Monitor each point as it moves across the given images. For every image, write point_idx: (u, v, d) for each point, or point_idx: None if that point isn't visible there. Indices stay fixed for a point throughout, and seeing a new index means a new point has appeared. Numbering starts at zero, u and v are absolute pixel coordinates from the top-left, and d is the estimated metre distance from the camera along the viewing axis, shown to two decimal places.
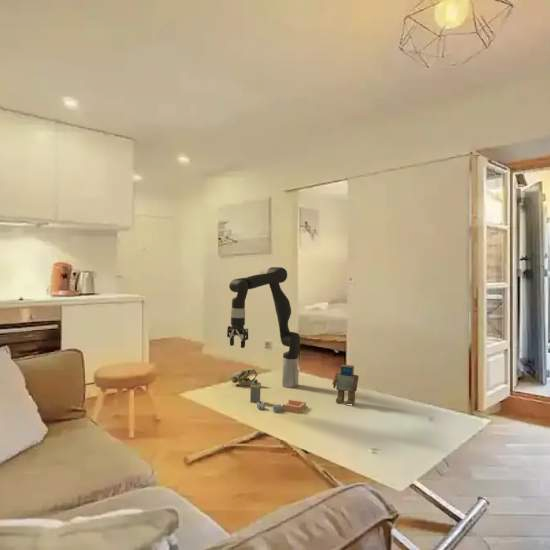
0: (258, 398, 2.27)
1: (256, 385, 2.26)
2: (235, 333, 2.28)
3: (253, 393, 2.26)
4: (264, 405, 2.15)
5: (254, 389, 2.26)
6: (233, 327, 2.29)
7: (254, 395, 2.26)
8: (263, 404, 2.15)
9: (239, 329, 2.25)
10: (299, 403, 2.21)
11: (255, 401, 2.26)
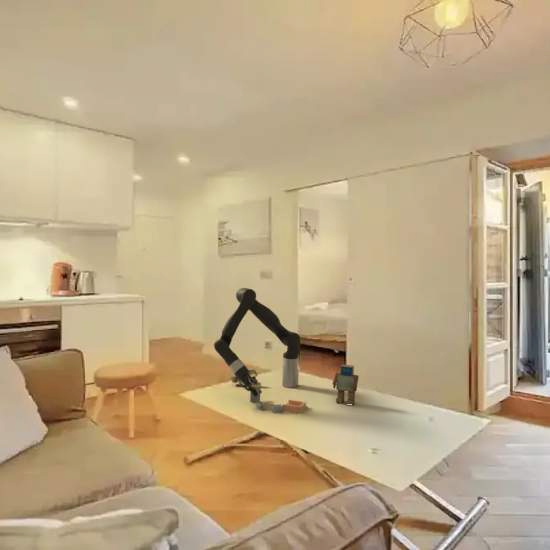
0: (258, 398, 2.27)
1: (256, 385, 2.26)
2: None
3: None
4: (264, 405, 2.15)
5: None
6: None
7: None
8: (263, 404, 2.15)
9: None
10: (299, 403, 2.21)
11: (255, 401, 2.26)
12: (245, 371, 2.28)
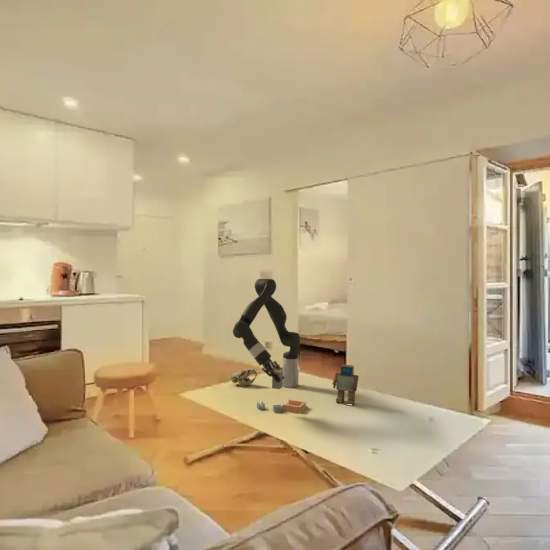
0: (280, 384, 2.12)
1: (278, 370, 2.11)
2: None
3: None
4: (264, 405, 2.15)
5: (277, 374, 2.11)
6: None
7: (276, 381, 2.11)
8: (263, 404, 2.15)
9: None
10: (299, 403, 2.21)
11: (277, 387, 2.11)
12: (266, 355, 2.13)
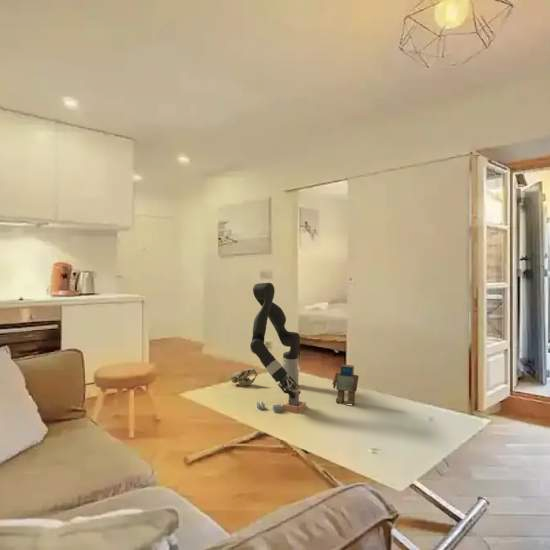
0: (297, 404, 2.17)
1: (295, 390, 2.15)
2: None
3: (292, 399, 2.16)
4: (264, 405, 2.15)
5: None
6: None
7: (293, 400, 2.16)
8: (263, 404, 2.15)
9: None
10: (299, 403, 2.21)
11: None
12: (283, 373, 2.18)
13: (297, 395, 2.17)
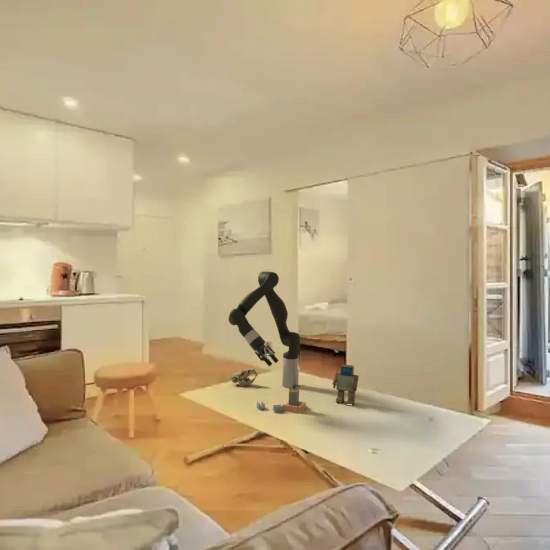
0: (297, 404, 2.17)
1: (295, 390, 2.15)
2: None
3: (292, 399, 2.16)
4: (264, 405, 2.15)
5: (293, 394, 2.16)
6: None
7: (293, 400, 2.16)
8: (263, 404, 2.15)
9: None
10: (299, 403, 2.21)
11: None
12: (261, 341, 2.23)
13: (297, 395, 2.17)
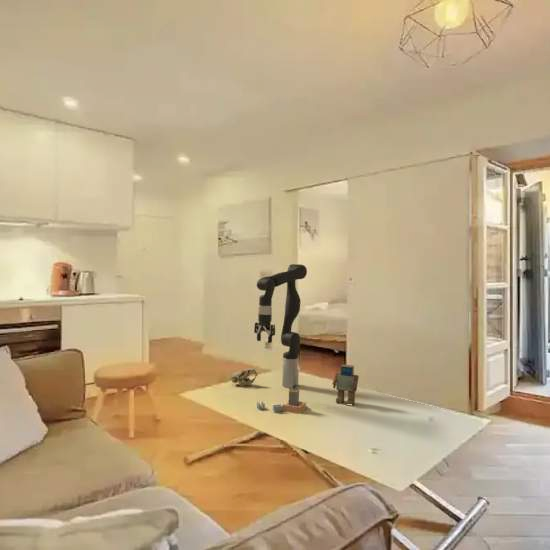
0: (297, 404, 2.17)
1: (295, 390, 2.15)
2: (262, 329, 2.40)
3: (292, 399, 2.16)
4: (264, 405, 2.15)
5: (293, 394, 2.16)
6: (260, 323, 2.41)
7: (293, 400, 2.16)
8: (263, 404, 2.15)
9: (266, 325, 2.38)
10: (299, 403, 2.21)
11: None
12: None
13: (297, 395, 2.17)
